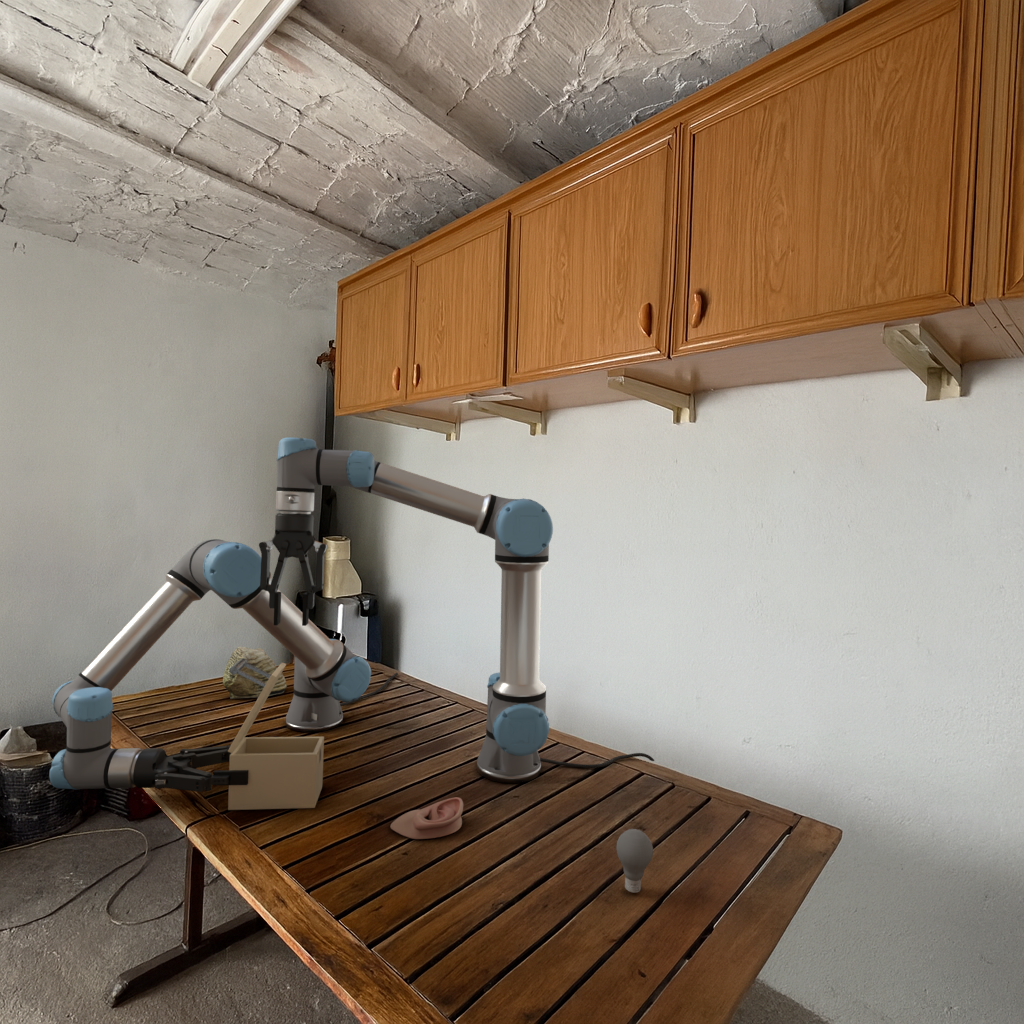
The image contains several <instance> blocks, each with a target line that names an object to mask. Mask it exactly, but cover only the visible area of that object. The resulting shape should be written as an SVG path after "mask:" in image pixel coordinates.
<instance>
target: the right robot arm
mask: <svg viewBox="0 0 1024 1024" xmlns="http://www.w3.org/2000/svg"><path fill="white" fill-rule="evenodd" d="M315 486H335V487H347V488H348V487H349V488H352V489H356V490H359V491H361V492H365V493H369V494H372V495H375V496H378V497H381V498H384V499H387V500H390V501H393V502H395V503H398V504H399V503H400V504H402V505H405V506H409V507H412V508H415V509H418V510H421V511H424V512H426V513H430V514H433V515H435V516H439V517H442V518H444V519H445V518H446V519H449V520H450V521H453V522H457V523H459V524H463V525H466V526H469V527H472V528H474V530H475V532H476V533H477V534H480V535H484V536H486V537H488V538H490V539H492V540H494V562H495V563H496V564H497V565H498V567H500V569H501V587H500V588H501V590H500V591H501V592H500V593H501V594H500V599H501V600H500V646H499V647H500V648H499V649H500V650H499V653H500V654H499V672H494V673H491V674H490V675H489V676H488V681H487V685H486V687H487V705H486V722H485V723H486V726H485V738H484V741H483V742H482V746H481V749H480V751H479V754H478V757H477V760H476V770H477V772H478V774H479V775H481V776H482V777H483V778H485V779H488V780H490V781H493V782H497V783H503V784H519V783H526V782H529V781H532V780H534V779H536V778H538V777H539V776H540V774H541V772H542V771H541V770H542V763H545V764H546V763H547V764H552V765H556V766H561V767H570V768H579V769H596V768H598V769H599V768H604V767H607V766H609V765H611V764H612V763H614V762H616V761H618V760H623V759H631V758H637V757H643V758H647V759H648V760H649V761H651V762H655V759H654V758H653V757H652V756H651V755H649V754H647V753H643V752H636V753H629V754H623V755H618V756H615V757H612V758H611V759H609V760H607V761H604V762H601V763H595V764H594V763H593V764H583V763H572V762H565V761H558V760H554V759H548V758H544V757H543V758H542V757H540V754H539V750H541V748H542V747H543V746H545V743H546V742H547V740H548V738H549V734H550V733H549V732H550V722H549V718H548V716H547V713H546V712H547V686H546V685H545V683H543V682H542V681H541V679H540V667H541V666H540V663H541V662H540V661H541V616H542V615H541V611H542V610H541V607H542V570H543V569H544V568H545V567H546V566H547V565H548V564H549V556H550V542H551V541H552V538H553V534H554V525H553V520H552V517H551V515H550V513H549V511H548V510H547V509H546V508H545V506H543V505H542V504H541V503H539V502H538V501H535V500H533V499H530V498H506V497H502V496H497V495H495V494H492V493H488V494H486V495H481V494H478V493H475V492H472V491H469V490H466V489H463V488H459V487H457V486H453V485H450V484H448V483H446V482H445V483H444V482H442V481H438V480H435V479H432V478H429V477H427V476H423V475H420V474H418V473H414V472H411V471H408V470H405V469H402V468H399V467H396V466H393V465H390V464H388V463H387V464H386V463H384V462H380V461H377V460H375V457H374V454H373V453H372V452H370V451H365V450H364V451H363V450H358V449H355V450H347V449H346V450H344V449H324V448H318V446H317V442H316V440H315V439H312V438H306V437H283V438H281V439H280V440H279V441H278V449H277V458H276V491H275V492H276V493H275V510H276V511H277V513H276V514H275V517H274V518H275V519H274V535H273V537H272V538H271V539H270V540H267V541H265V540H264V541H260V542H259V543H258V547H259V550H260V553H261V555H260V557H261V576H260V589H261V590H265V591H268V592H269V607H270V608H274V625H278V624H280V618H281V592H282V591H281V592H277V590H278V589H279V586H280V583H281V579H282V576H283V574H284V571H285V567H286V565H287V561H288V558H296V559H298V561H299V563H300V568H301V573H302V576H303V577H302V578H303V581H304V584H305V585H304V586H305V590H306V592H304V593H303V594H302V613H303V614H302V626H306V625H307V624H308V619H309V618H310V617H309V612H310V610H312V609H314V607H315V593H317V592H321V591H322V590H324V587H325V554H326V551H327V549H328V544H327V543H326V542H321V541H317V540H316V538H315V535H314V521H315V520H314V519H315V516H314V514H312V512H314V511H315V488H316V487H315ZM273 546H274V547H275V548H276V550H277V552H278V553H279V554H278V557H277V563H276V566H275V569H274V572H273V574H272V575H273V576H272V577H271V585H270V584H269V574H270V572H271V569H270V568H271V551H272V550H273ZM313 546H314V551H315V553H316V563H315V564H316V565H315V566H316V568H315V569H316V570H315V571H316V572H315V583H314V579H313V575H312V570H311V565H310V562H309V556H308V553H309V551H310V550H311V549H312V548H313Z"/></svg>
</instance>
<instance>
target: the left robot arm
mask: <svg viewBox="0 0 1024 1024" xmlns="http://www.w3.org/2000/svg"><path fill="white" fill-rule="evenodd" d="M260 576H261V555H260V554H259V553H258V552H257V551H256V550H255V549H254V548H253V547H250V546H249V545H246V544H244V543H242V542H236V541H227V540H224V539H219V538H218V539H217V538H211V539H206V540H203V541H201V542H199V543H197V544H196V545H194V546H193V547H192V548H191V549H189V550H188V551H187V552H186V553H185V554H184V555H183V556H182V557H181V558H180V559H179V560H178V561H177V562H176V563H175V565H174V566H173V567H172V568H171V569H170V570H169V571H168V572H167V573H166V574H165V582H164V583H163V584H162V585H160V587H159V588H158V589H157V591H156V592H155V593H154V594H152V596H151V597H150V598H149V599H148V600H147V601H146V602H145V603H144V604H143V605H142V606H141V608H139V610H138V611H137V612H136V613H135V614H134V615H133V616H132V617H131V618H130V619H129V620H128V621H127V622H126V624H125V625H124V626H123V627H121V629H120V630H119V631H118V632H117V633H116V634H114V636H113V637H112V638H111V640H110V641H109V642H108V643H107V644H106V645H105V646H104V647H103V648H102V649H101V650H100V651H99V652H98V653H97V655H96V656H95V657H93V659H92V660H91V661H90V662H89V663H88V664H87V665H86V666H85V668H84V669H82V670H81V672H80V673H78V674H77V676H75V678H74V679H72V680H70V681H66V682H65V683H62V684H61V685H60V686H59V687H57V688H56V690H55V691H54V692H53V695H52V698H51V699H52V700H51V704H52V706H53V711H54V712H55V714H56V715H57V716H58V718H60V719H61V721H62V723H63V724H64V726H65V727H66V745H65V746H66V748H64V749H61V750H59V751H58V752H57V753H56V754H55V756H54V757H53V759H52V761H51V767H50V769H49V774H48V776H49V777H48V778H49V782H50V784H51V786H52V787H54V788H56V789H61V790H63V789H64V790H74V791H75V790H76V791H77V790H78V791H79V790H93V789H94V790H95V789H97V790H98V789H120V790H121V791H124V790H127V789H134V788H136V789H156V790H157V789H158V790H159V789H170V790H181V791H191V792H199V793H202V792H210V791H212V789H213V788H212V786H215V787H216V786H217V787H219V786H229V785H247V784H248V772H249V770H229V769H225V770H222V769H221V770H217V769H216V770H213V773H212V772H209V771H205V770H201V769H199V768H204V767H209V766H215V765H219V764H223V763H228V765H229V764H230V754H231V753H230V752H228V750H229V748H230V746H231V744H230V745H220V746H210V747H200V748H199V747H198V748H181V749H180V750H179V753H178V754H173V755H167V753H166V750H165V749H164V748H161V747H151V748H149V747H146V748H144V749H143V748H141V747H129V748H128V747H127V748H126V747H125V748H121V747H120V748H114V747H112V728H113V727H112V724H113V709H114V702H113V690H114V689H115V688H116V687H117V686H118V685H119V683H120V682H121V681H123V679H124V678H125V677H126V676H127V675H128V674H129V672H131V671H132V670H133V668H134V667H135V666H136V665H137V664H138V663H139V662H140V660H141V659H142V658H143V657H144V656H145V655H146V654H147V653H148V651H150V650H151V648H152V647H153V646H154V645H155V644H156V643H157V641H159V640H160V639H161V637H162V636H163V635H164V634H165V633H166V632H167V631H168V629H169V628H170V627H171V626H172V625H173V624H174V623H175V622H176V621H177V620H178V619H179V618H180V616H181V615H182V614H183V613H184V612H185V611H186V610H187V608H188V607H189V606H190V605H192V603H194V602H197V601H201V599H202V598H204V596H205V595H206V594H207V593H208V592H210V591H212V592H213V593H214V594H216V596H217V597H219V598H220V599H221V600H222V601H223V602H224V603H226V604H227V606H229V607H230V608H231V609H235V610H238V609H243V610H244V611H245V612H246V613H247V614H248V615H249V616H251V618H252V619H254V620H255V621H256V622H257V623H258V624H259V625H260V626H261V627H262V628H264V629H265V630H266V631H267V632H268V633H269V634H270V635H271V636H272V637H273V638H274V639H275V640H277V641H278V642H279V643H280V644H281V645H282V646H283V647H284V648H286V650H288V651H289V653H291V654H292V655H293V657H294V672H293V695H292V696H293V697H292V699H291V702H290V704H289V708H288V711H287V713H286V715H285V726H286V728H287V729H289V730H291V731H294V732H295V731H296V732H301V733H316V732H325V731H329V730H332V729H335V728H337V727H339V726H340V725H342V723H343V722H344V714H343V709H342V707H344V706H348V705H351V704H354V703H356V702H359V701H362V700H364V699H366V698H369V697H372V696H374V695H376V694H378V693H379V692H381V691H382V690H384V689H385V688H386V687H387V686H388V684H389V683H390V682H391V681H392V680H393V679H394V678H395V677H397V676H398V675H399V673H398V672H395V673H394V674H393V675H391V676H390V677H389V678H387V680H386V681H385V683H384V684H382V685H381V686H380V687H379V688H377V689H376V690H374V691H371V692H369V693H366V691H367V689H368V688H369V686H370V682H371V680H372V679H371V677H372V668H371V666H370V664H369V662H368V661H367V660H366V659H365V658H364V657H362V656H359V655H358V656H357V655H356V654H354V652H352V651H351V650H350V649H349V648H348V647H347V646H346V645H345V644H344V643H343V642H342V641H341V640H339V639H336V638H329V636H327V635H326V633H324V632H323V631H322V630H321V629H320V627H317V625H316V624H315V623H314V622H313V621H312V620H310V618H308V624H307V625H306V626H302V614H303V611H301V609H300V608H299V607H298V606H296V605H295V604H294V603H293V602H292V601H291V600H290V599H289V598H288V597H287V596H286V595H285V594H284V593H283V592H282V591H281V590H280V589H279V588H278V590H277V592H281V618H280V624H278V625H274V608H270V607H269V592H268V591H265V590H261V589H260ZM271 582H272V572H271V571H270V574H269V584H270V585H271ZM364 693H366V694H364Z"/></svg>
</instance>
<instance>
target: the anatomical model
mask: <svg viewBox="0 0 1024 1024" xmlns="http://www.w3.org/2000/svg"><path fill="white" fill-rule="evenodd" d="M463 812H464V801H463V799H462V797H450V798H446V799H443V800H440V801H438V802H435V803H433V804H430V805H428V806H426V807H424V808H421V809H413V810H410V811H408V812H405V813H404V814H402V815H400V816H398V817H397V818H395V819H394V820H393V821H392V822H391V824H390V829H391V830H392V831H394V832H395V833H397V834H399V835H401V836H403V837H405V838H409V839H412V840H425V839H427V840H428V839H435V838H441V837H445V836H448V835H452V834H453V833H456V832H457V831H459V830H460V829H461V827H462V825H463V819H462V814H463Z"/></svg>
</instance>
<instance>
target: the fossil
mask: <svg viewBox="0 0 1024 1024" xmlns="http://www.w3.org/2000/svg"><path fill="white" fill-rule="evenodd" d="M241 658H245V659H246V660H247V663H249V664H251V665H253V666H255V667H257V668H259V669H261V670H263V671H265V672H267V673H269V674H271V675H272V674H273V672H274V671H275V670H276V669H277V668H278V667H277V665H276V663H275V662H274V660H273V659H272V658H271V657H270V656H269V655H268V654H267V653H266V652H265V650H264V649H263V648H260V647H258V648H251V647H247V646H246V647H245V646H238V647H237V648H236V649H235V650H233V651H232V653H231V656H230V657H229V659H228V660H227V663H226V666H225V668H224V671H223V675H222V676H223V677H222V685H223V687H224V688H225V690H226V691H228V693H229V698H230V699H250V698H258V697H259V696H260V694H261V692H262V690H263V689H264V687H263V686H261V685H259V684H257V683H255V682H253V681H251V680H249V679H247V678H245V677H243V676H241V675H239V674H235V675H233V674H231V673H230V671H229V670H230V668H231V667H232V666H233V665H234V664H235V663H237V662H238V661H239V660H240V659H241ZM241 671H243V672H245V673H247V674H249V675H251V676H253V677H255V678H257V679H259V680H261V681H263V682H265V683H267V682H268V680H269V678H267V677H265V676H263V675H261V674H259V673H257V672H255V671H253V670H251V669H249V668H247V667H245V666H244V667H243V668H242V669H241ZM287 687H288V686H287V680H286V678H285V676H284V674H283V672H282V673H281V675H280V677H279V678H278V680H277V682H276V684H275V685H274V687H273V689H272V691H271V692H270V694H269V696H268V697H271V696H275V695H281V694H284V693H285V691H286V689H287Z"/></svg>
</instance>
